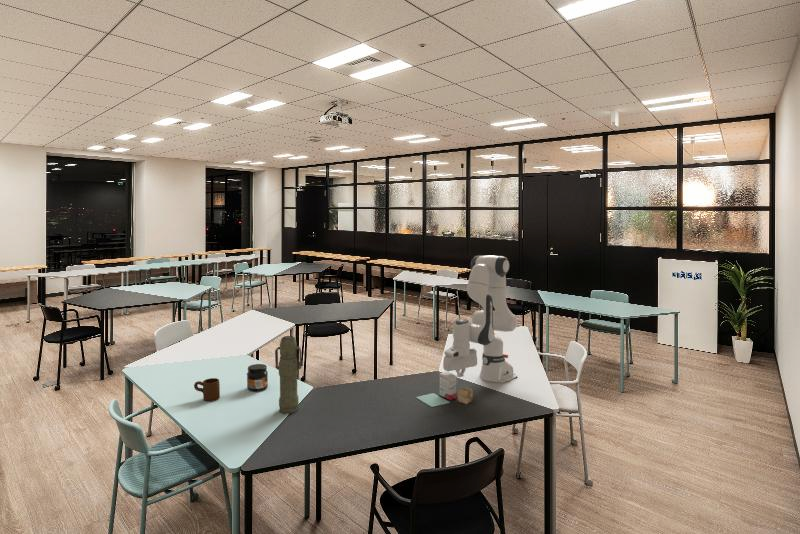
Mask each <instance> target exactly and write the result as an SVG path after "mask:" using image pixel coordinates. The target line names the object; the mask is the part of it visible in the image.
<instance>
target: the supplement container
mask: <svg viewBox="0 0 800 534" xmlns="http://www.w3.org/2000/svg"><path fill="white" fill-rule="evenodd" d="M267 367H268V366H267V365H266V364H263V363H256V364H251V365H249V366H248V367H247V372H246V382H247V383H246V385H247V386H246V388H247V390H248V391H250V392H255V393H256V392H257V393H258V392H262V391H265V390H267V389H268V387H269V383H268V382H269V381H268V371H267V370H268V369H267Z"/></svg>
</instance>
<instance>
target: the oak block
mask: <svg viewBox="0 0 800 534" xmlns="http://www.w3.org/2000/svg"><path fill="white" fill-rule="evenodd" d="M457 393H458V394H457V398H458V399H457V401H458V402H459V403H463V404H465V405H467V404H469V403H471V402H473V389H471V388H469V387H466V386H465V387H464V386H463V387H461V388H459V389H458V390H457Z"/></svg>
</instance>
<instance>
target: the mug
mask: <svg viewBox="0 0 800 534" xmlns="http://www.w3.org/2000/svg"><path fill="white" fill-rule="evenodd" d="M199 385H200V386H201V387H199ZM193 387H194V390H195V391H197V392H201V393H202V395H203V397H202V398H203V401H205V402H208V403H209V402H215V401H218V400H219V399H220V398H221V395H220V394H221V393H220V389H221V388H220V387H221V385H220V379H219V378H214V377H211V378H206V379H204V380H203V381H201V380H198V381H196V382H194V384H193Z"/></svg>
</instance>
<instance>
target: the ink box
mask: <svg viewBox="0 0 800 534" xmlns="http://www.w3.org/2000/svg"><path fill="white" fill-rule="evenodd" d="M457 380H458V377H457V375H455V374H453V373H451V372H450V371H443V372H439V396H440V397H442V398H444V399H445V398H446V400H449V401H451V400H455V399H457V398H458V394H457V393H458V390H457V389H458V388H457V386H458V385H457Z"/></svg>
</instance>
